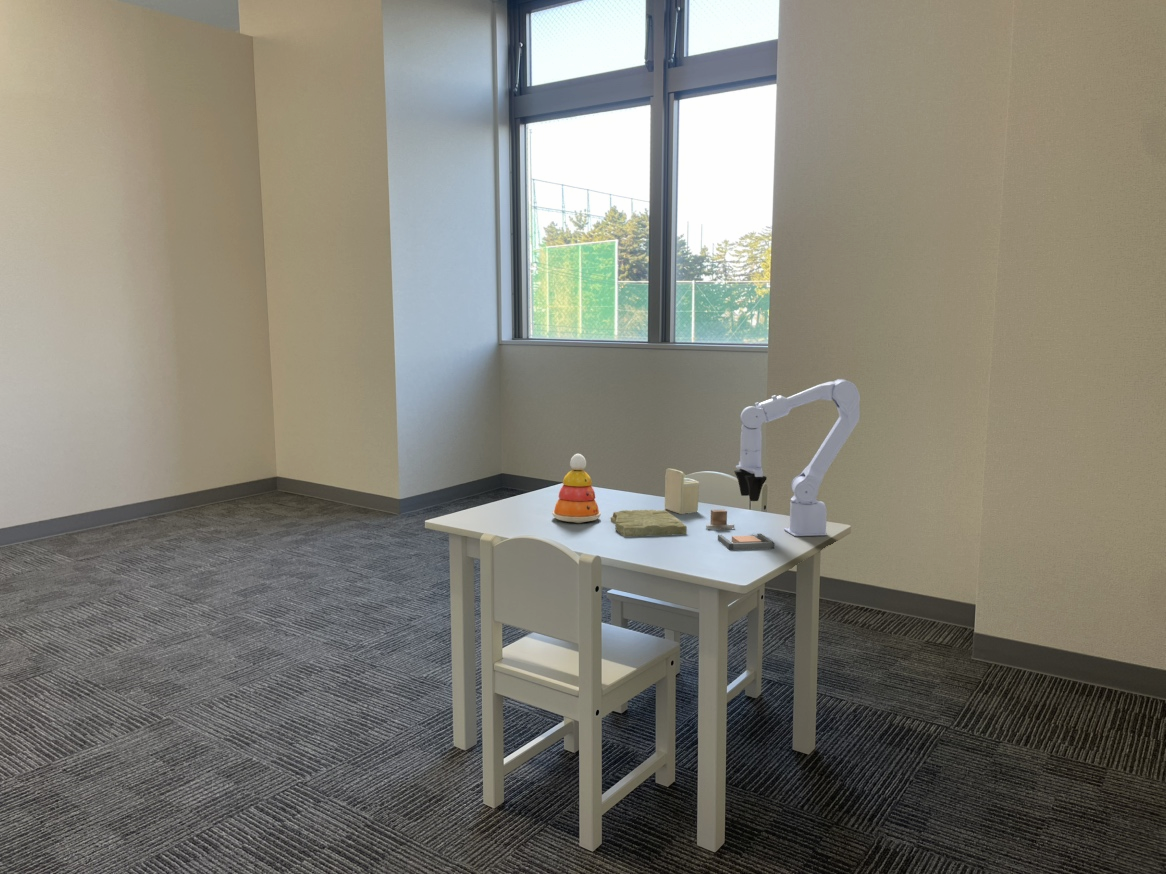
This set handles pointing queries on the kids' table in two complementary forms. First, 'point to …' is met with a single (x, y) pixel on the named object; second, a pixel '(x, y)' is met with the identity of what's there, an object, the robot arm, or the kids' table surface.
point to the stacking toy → (577, 495)
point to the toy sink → (680, 492)
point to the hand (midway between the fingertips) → (749, 498)
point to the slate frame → (764, 544)
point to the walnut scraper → (719, 520)
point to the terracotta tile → (745, 539)
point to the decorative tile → (647, 523)
